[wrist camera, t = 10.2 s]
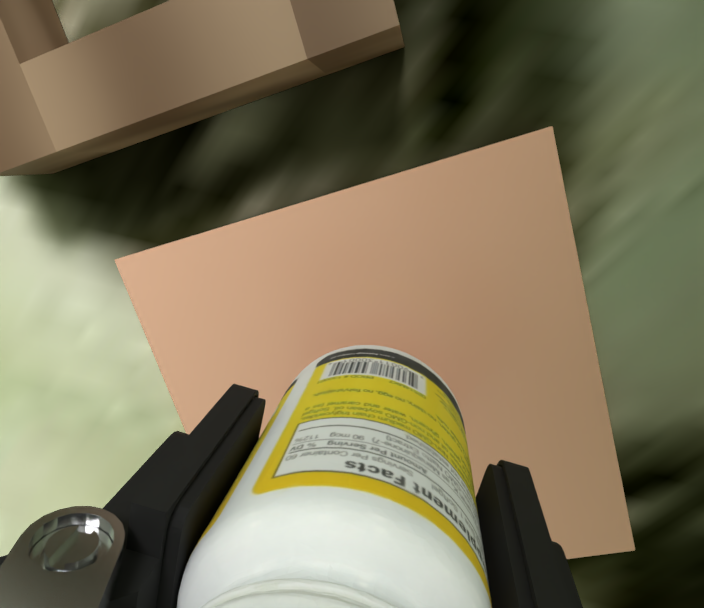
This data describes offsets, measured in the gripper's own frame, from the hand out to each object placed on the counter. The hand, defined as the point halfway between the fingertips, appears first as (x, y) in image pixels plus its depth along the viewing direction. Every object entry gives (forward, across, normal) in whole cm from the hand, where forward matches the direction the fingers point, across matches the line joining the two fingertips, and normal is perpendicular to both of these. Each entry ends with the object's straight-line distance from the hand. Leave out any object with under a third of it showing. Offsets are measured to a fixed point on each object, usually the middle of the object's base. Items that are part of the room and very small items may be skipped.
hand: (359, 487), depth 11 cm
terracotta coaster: (+4, 0, 0) cm, 4 cm away
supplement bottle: (+3, 0, 0) cm, 3 cm away
